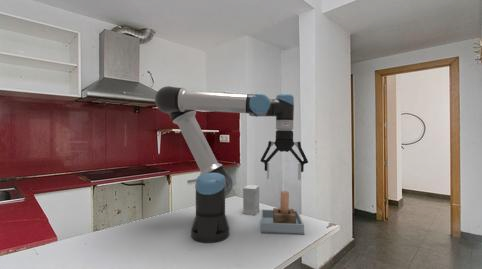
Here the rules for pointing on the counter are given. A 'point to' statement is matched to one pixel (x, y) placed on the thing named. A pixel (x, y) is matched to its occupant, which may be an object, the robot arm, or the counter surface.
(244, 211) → the small box
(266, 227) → the tray
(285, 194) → the peg
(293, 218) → the block
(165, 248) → the counter surface
